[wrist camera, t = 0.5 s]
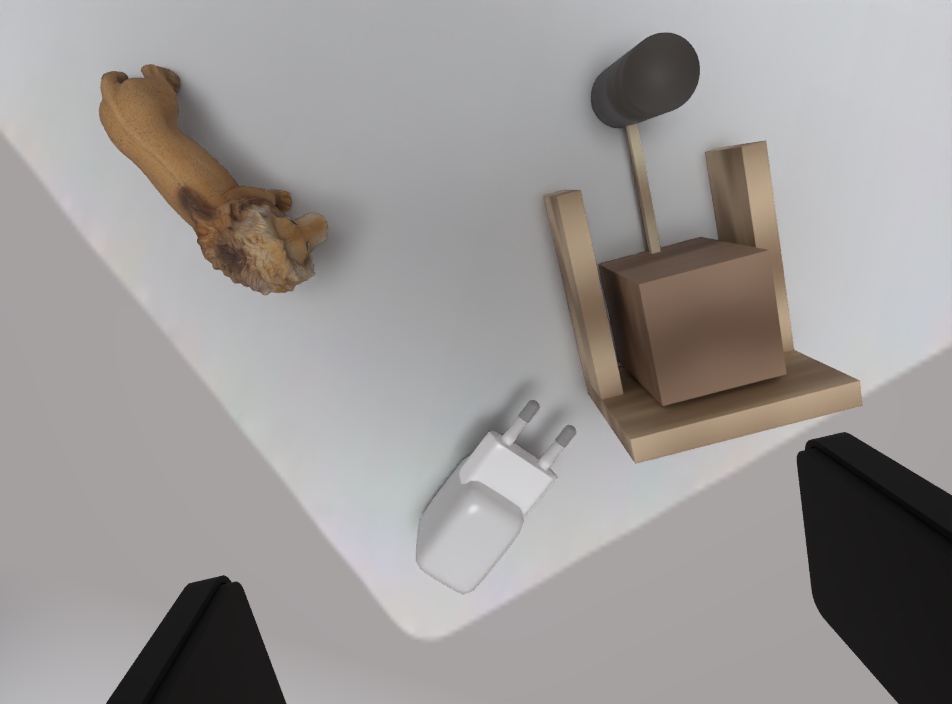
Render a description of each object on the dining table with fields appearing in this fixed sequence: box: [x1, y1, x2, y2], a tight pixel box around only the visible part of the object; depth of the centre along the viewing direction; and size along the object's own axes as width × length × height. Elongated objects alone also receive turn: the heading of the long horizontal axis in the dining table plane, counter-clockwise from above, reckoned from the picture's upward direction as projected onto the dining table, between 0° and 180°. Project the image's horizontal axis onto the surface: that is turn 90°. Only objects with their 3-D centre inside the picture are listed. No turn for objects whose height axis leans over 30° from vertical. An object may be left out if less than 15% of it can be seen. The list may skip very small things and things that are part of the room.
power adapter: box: [416, 400, 576, 594], centre depth 36 cm, size 11×5×6 cm, turn 144°
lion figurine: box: [99, 64, 328, 295], centre depth 30 cm, size 15×5×9 cm, turn 50°
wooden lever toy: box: [591, 33, 787, 406], centre depth 32 cm, size 16×6×8 cm, turn 15°
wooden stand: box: [544, 141, 862, 464], centre depth 32 cm, size 12×10×10 cm
